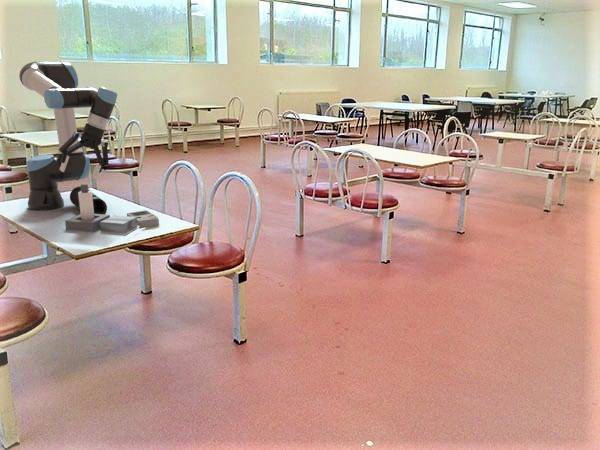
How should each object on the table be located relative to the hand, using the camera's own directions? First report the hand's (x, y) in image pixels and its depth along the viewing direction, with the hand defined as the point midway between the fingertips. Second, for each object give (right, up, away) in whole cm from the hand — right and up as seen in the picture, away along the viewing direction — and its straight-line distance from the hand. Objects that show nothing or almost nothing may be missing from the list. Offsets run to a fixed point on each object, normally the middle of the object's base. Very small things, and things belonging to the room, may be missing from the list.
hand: (77, 175), depth 210 cm
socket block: (+5, -22, -1) cm, 23 cm away
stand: (+18, -23, -3) cm, 29 cm away
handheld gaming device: (+24, -20, +10) cm, 32 cm away
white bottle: (+5, -21, -1) cm, 21 cm away
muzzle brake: (-4, -15, +22) cm, 27 cm away
